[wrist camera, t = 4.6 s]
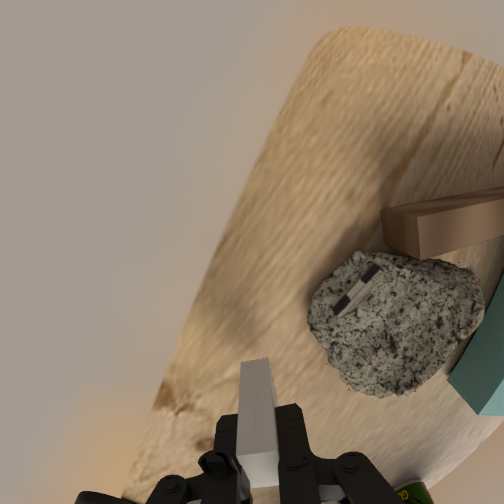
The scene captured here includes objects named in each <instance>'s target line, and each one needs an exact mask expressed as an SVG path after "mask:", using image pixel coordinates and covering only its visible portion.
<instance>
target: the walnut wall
mask: <svg viewBox="0 0 504 504" xmlns="http://www.w3.org/2000/svg"><path fill="white" fill-rule="evenodd" d="M381 216H382V223H383V231H384V240H385V244H386V245H388V246H390V247H393V248H395V249H397V250H399V251H401V252H404V253H406V254H408V255H410V256H412V257H414V258H416V259H419V260H424V259H427V258H431V257H434V256H438V255H441V254H444V253H448V252H451V251H454V250H457V249H461V248H464V247H467V246H470V245H473V244H477V243H480V242H483V241H486V240H489V239H492V238H495V237H498V236H501V235H504V187H501V188H495V189H489V190H484V191H478V192H473V193H467V194H462V195H456V196H451V197H445V198H440V199H435V200H429V201H424V202H419V203H414V204H408V205H403V206H398V207H393V208H388V209H383V210H381Z"/></svg>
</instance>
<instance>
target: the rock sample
mask: <svg viewBox="0 0 504 504" xmlns="http://www.w3.org/2000/svg"><path fill="white" fill-rule="evenodd" d="M395 253H397V251H396V252H395ZM459 263H460V262H459ZM459 266H460V265H459ZM474 276H475V272H474V266H473V265H470V268H469V269H468V268H466V269H465V268H458V267H457V266H456V265H455V264H451V263H450V262H446V261H442V260H440V259H435V260H434V259H428V258H427V259H424V260H419V259H416V258H414V257H403V256H396V255H393V254H391V253H383V252H376V253H370V252H367V251H361V250H358V251H356V252H355V253H354V254H353V255H352V256H351V257H350V258H348V259H347V260H346V261H345V262H344V264H343V265H341V266H340V267H339V268H338V269H337V270H335V271H333V272H332V273H331V275H330V276H329V277H328V278H327V279H325V280H323V281H322V282H321V284H320V285H319V286H318V289H317V291H315V292H314V294H313V296H312V298H311V301H310V309H309V311H308V313H309V315H308V316H307V322H308V325H309V327H310V331H311V332H312V333H313V334H314V335H315V337H316V338H317V340H318V341H319V342H320V343H321V344H322V346H323V347H324V348H325V349H326V351H327V353H328V361H329V364H330V365H331V366H333V367H334V368H337V369H340V373H341V379H342V381H343V382H345V383H347V385H348V383H349V384H350V385H351V387H352V388H353V389H354V390H355V391H360V392H362V393H364V394H366V395H374V396H375V397H378V398H380V399H382V398H384V397H387V396H391V395H392V394H396V395H397V396H398V397H400V398H404V397H406V396H408V395H409V394H410V393H411V392H413V391H414V392H416V389H418V388H419V387H420V386H421V385H422V384H423V383H424V382H425V381H426V380H429V379H430V378H431V377H432V376H433V375H434V374H436V372H437V371H438V370H439V369H440V368H441V367H442V366H443V365H444V363H446V359H447V358H448V356H449V355H450V354H451V353H452V352H453V351H454V350H455V347H456V346H457V345H458V344H459V343H461V342H462V341H463V340H464V339H465V338H468V337H470V335H471V334H472V333H473V332H474V331H475V330H476V328H477V327H478V326H479V325H480V324H481V322H482V320H483V317H484V308H485V306H484V304H485V299H483V292H482V290H481V287H480V279H479V280H477V281H478V283H477V282H476V281H475V277H474ZM476 277H477V276H476ZM477 329H478V328H477ZM478 340H479V339H478ZM468 347H470V346H468ZM456 348H457V347H456ZM326 364H327V363H326ZM347 385H346V386H347ZM349 391H350V389H349Z"/></svg>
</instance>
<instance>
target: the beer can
mask: <svg viewBox="0 0 504 504" xmlns="http://www.w3.org/2000/svg"><path fill="white" fill-rule="evenodd" d="M393 489H394V490H395V492H396V493H397V494H398V495H399V496H400V497H401V499H402V500H403V501H404V502H405V503H406V504H434V502H433V500H432V498H431V496H430V494H429V492H428V490H427V488H426V486H425V484H424V482H422V481H420V480H419V479H412V480H409V481H406V482H404V483H402V484H400V485H398V486H396V487H395V488H393Z"/></svg>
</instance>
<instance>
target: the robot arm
mask: <svg viewBox="0 0 504 504" xmlns="http://www.w3.org/2000/svg"><path fill="white" fill-rule="evenodd" d="M198 464H199V465H200V467H201V468H202V470H203V471H204V473H202V474H200V475H198V476H195V477H191V478H187V479H184V478H183V477H181V476H179V475H168V476H165V477H164V478H162V479H161V480H160V481H159V482H158V483H157V485H156V487H155V488H154V490H153V492H152V493H151V495H150V497H149V498H148V500H147V502H146V503H145V504H253V498H252V495H251V493H250V485H251V487H252V488H261V487H269V486H277V485H279V490H280V502H281V504H321V501H320V500H330V501H337V503H338V504H406V503H405V502H404V501H403V500H402V499H401V497H400V496H399V495H398V494H397V493H396V492H395V490H394V489H393V488H392V487H391V486H390V484H389V483H388V482H387V481H386V480H385V478H384V477H383V476H382V475H381V474H380V472H379V471H378V470H377V469H376V467H375V466H374V465H373V464H372V463H371V461H370V460H369V459H368V458H367V457H366V456H365V455H364V454H363V453H360V452H347V453H344V454H342V455H341V456H339V457H338V458H337V459H323V458H320V457H317V456H315V455H314V454H313V453H312V452H311V450H310V447H309V442H308V437H307V432H306V427H305V423H304V418H303V413H302V409H301V408H300V407H299V406H298V405H297V404H296V403H294V404H289V405H284V406H278V397H277V391H276V387H275V383H274V379H273V375H272V371H271V367H270V363H269V359H268V357H267V358H262V359H257V360H251V361H246V362H241V370H240V388H239V406H238V414H231V415H223V416H221V418H220V419H219V421H218V422H217V425H216V433H215V440H214V448H213V450H211V451H208V452H206V453H204V454H203V455H202V456H201V457H200V458H199V461H198ZM75 504H134V503H131V502H128V501H125V500H123V499H120V498H116V497H113V496H110V495H106V494H102V493H98V492H92V491H83V492H80V493H79V495H78V497H77V499H76V501H75Z"/></svg>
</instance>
